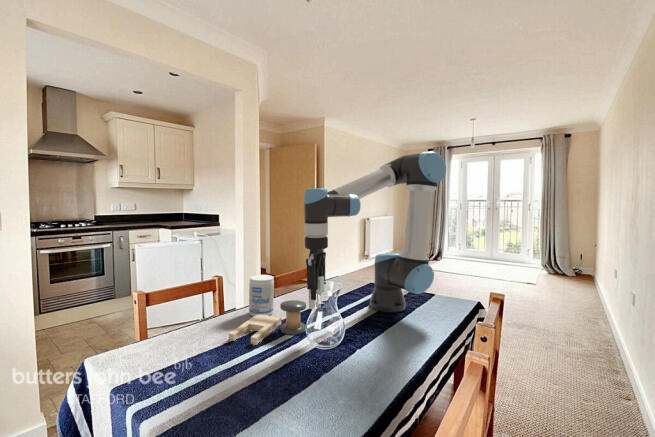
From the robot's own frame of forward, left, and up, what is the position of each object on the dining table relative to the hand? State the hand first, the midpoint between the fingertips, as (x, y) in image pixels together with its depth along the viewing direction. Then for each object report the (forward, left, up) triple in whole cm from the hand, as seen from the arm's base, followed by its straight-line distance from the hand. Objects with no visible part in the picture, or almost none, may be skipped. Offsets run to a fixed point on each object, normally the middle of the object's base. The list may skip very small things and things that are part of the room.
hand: (316, 306), depth 104 cm
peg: (0, 0, 0) cm, 0 cm away
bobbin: (-4, -10, -11) cm, 15 cm away
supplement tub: (-14, -28, -11) cm, 33 cm away
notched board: (+2, -21, -11) cm, 24 cm away
